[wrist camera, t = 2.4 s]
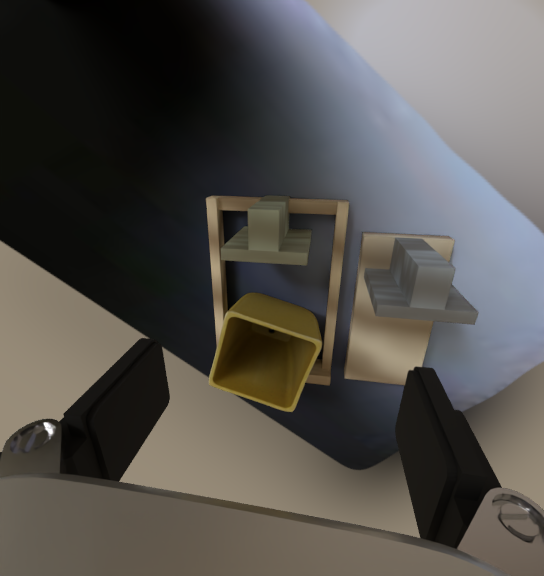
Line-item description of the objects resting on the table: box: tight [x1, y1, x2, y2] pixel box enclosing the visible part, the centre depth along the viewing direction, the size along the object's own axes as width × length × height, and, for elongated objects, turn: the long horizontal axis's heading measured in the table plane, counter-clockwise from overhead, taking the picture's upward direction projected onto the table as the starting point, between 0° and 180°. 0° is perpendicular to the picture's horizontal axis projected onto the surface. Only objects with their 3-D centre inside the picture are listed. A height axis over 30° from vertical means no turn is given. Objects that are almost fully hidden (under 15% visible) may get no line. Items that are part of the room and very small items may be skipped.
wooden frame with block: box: [206, 195, 349, 385], centre depth 31 cm, size 20×14×8 cm
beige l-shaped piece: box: [344, 232, 478, 385], centre depth 29 cm, size 17×8×10 cm, turn 179°
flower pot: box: [209, 293, 322, 412], centre depth 32 cm, size 9×9×9 cm
